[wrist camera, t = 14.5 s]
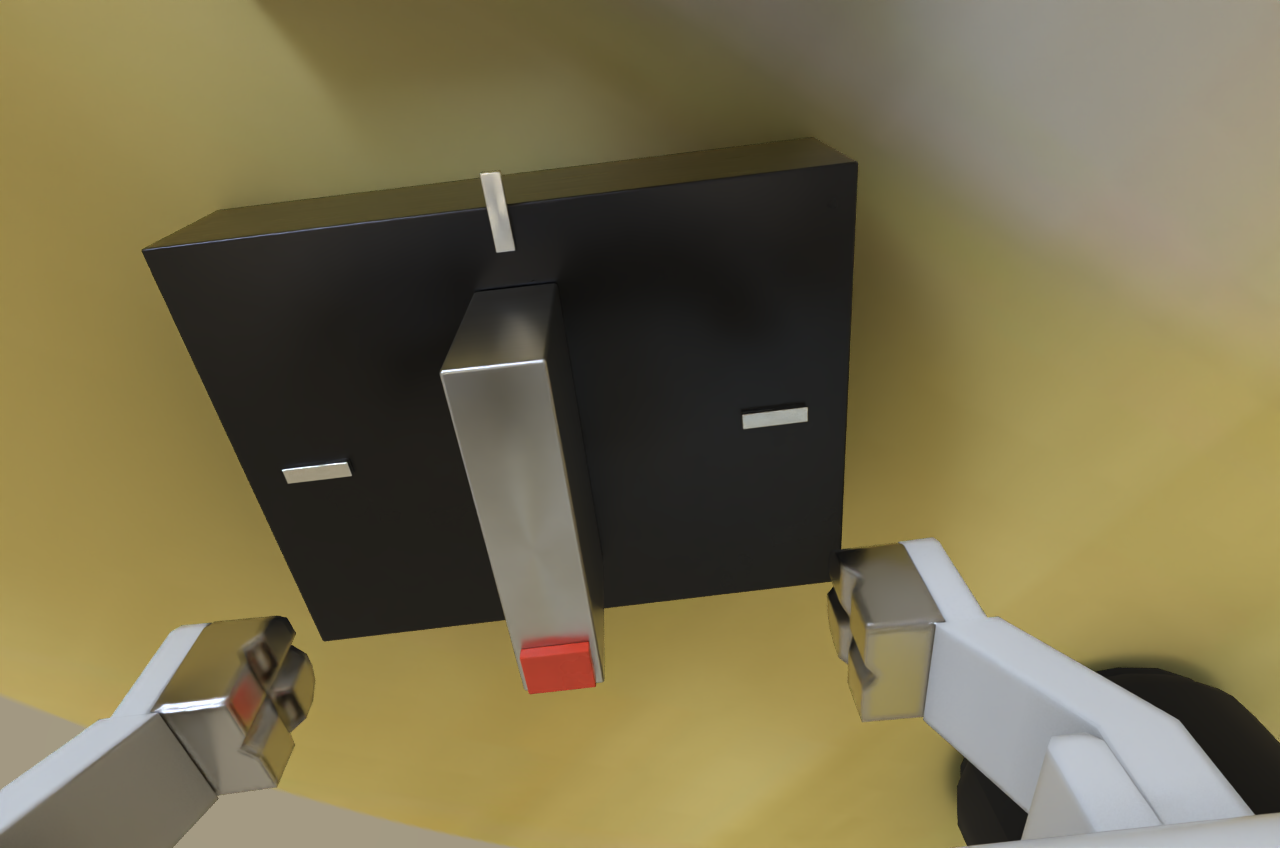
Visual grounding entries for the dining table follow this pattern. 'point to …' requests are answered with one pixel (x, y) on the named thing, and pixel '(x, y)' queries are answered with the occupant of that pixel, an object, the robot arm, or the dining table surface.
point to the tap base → (599, 356)
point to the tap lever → (530, 481)
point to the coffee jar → (1210, 715)
